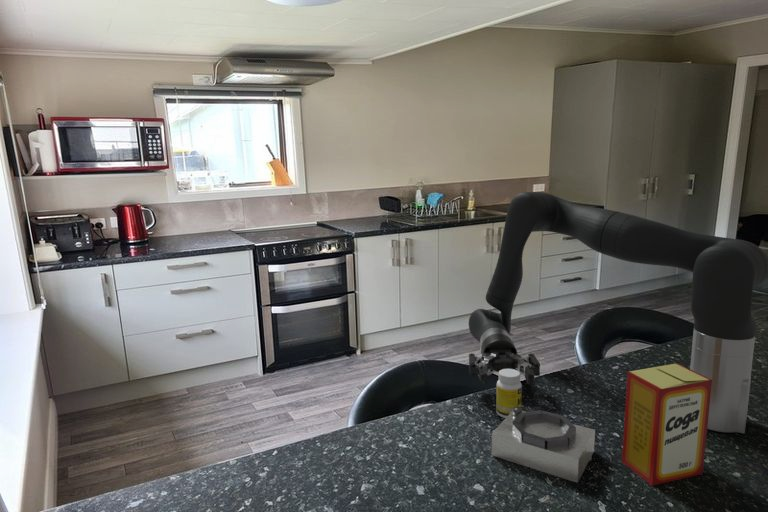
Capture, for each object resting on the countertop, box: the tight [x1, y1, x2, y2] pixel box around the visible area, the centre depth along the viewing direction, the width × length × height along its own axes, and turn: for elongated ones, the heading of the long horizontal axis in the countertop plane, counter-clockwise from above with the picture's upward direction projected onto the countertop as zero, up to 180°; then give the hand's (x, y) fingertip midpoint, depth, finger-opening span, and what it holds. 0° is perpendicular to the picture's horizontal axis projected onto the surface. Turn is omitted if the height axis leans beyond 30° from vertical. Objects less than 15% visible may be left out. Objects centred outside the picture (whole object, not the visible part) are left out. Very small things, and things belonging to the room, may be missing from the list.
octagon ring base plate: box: [491, 406, 596, 484], centre depth 88 cm, size 14×10×5 cm
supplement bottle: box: [495, 369, 523, 419], centre depth 101 cm, size 5×5×8 cm
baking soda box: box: [621, 363, 712, 487], centre depth 82 cm, size 10×6×16 cm
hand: (507, 379), depth 103 cm, fingers open, 8 cm apart
